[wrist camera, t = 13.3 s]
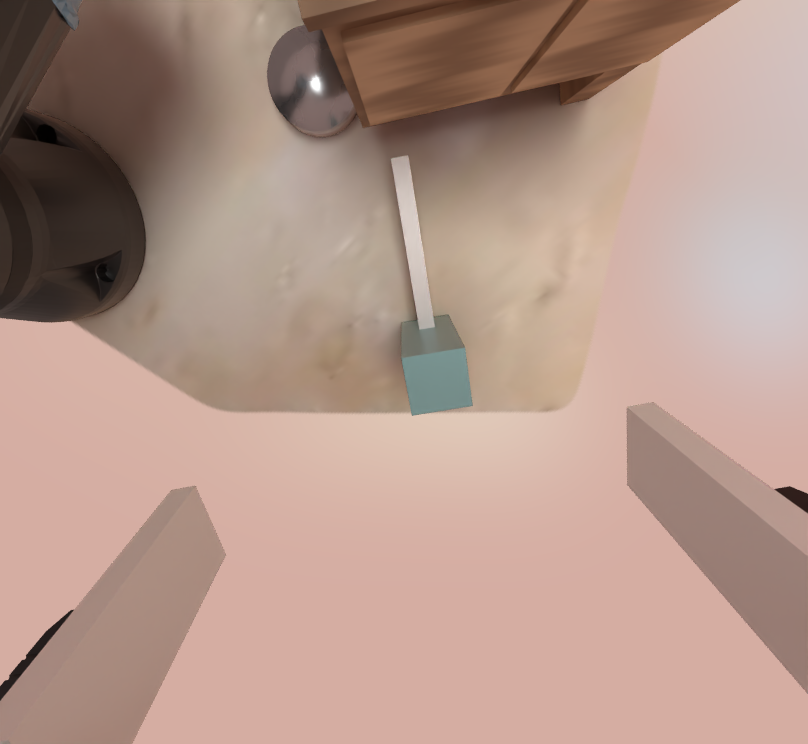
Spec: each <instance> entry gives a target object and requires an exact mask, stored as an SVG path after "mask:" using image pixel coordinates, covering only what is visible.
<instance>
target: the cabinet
mask: <svg viewBox="0 0 808 744" xmlns="http://www.w3.org/2000/svg"><path fill="white" fill-rule="evenodd" d="M739 1H740V0H298V4H299V8H300V12H301V17H302V20H303V22H304V24H305V26H306V28H307V30H308V32H312V31H316V30H320V29H322V31H323V34H324V36H325V38H326V41H327V43H328V45H329V48H330V50H331V53H332V55H333V57H334V60H335V62H336V65H337V67H338V69H339V72H340V74H341V76H342V79H343V81H344V84H345V86H346V88H347V91H348V93H349V96H350V98H351V100H352V103H353V105H354V107H355V110H356V112H357V115H358V117H359V119H360V122H361V124H362V127H363V128H365V127H370V126H374V125H378V124H383V123H387V122H391V121H396V120H400V119H404V118H409V117H413V116H417V115H422V114H426V113H430V112H435V111H439V110H443V109H448V108H452V107H456V106H461V105H465V104H469V103H474V102H478V101H482V100H487V99H491V98H495V97H500V96H504V95H508V94H513V93H517V92H521V91H526V90H530V89H534V88H539V87H543V86H547V85H552V84H556V83H559V87H560V102H561V105H564V104H569V103H573V102H577V101H582V100H586V99H589V98H591V97H592V96H594V95H595V94H597V93H598V92H600V91H601V90H603V89H604V88H606V87H607V86H609V85H610V84H612V83H613V82H615V81H616V80H618V79H619V78H621V77H622V76H624V75H625V74H627V73H628V72H629V71H631V70H632V69H634V68H635V67H637V66H638V65H640V64H641V63H645V62H648V61H649V60H651V59H652V58H654V57H656V56H657V55H659V54H660V53H662V52H663V51H664V50H666V49H668V48H669V47H671V46H672V45H673V44H675V43H677V42H678V41H680V40H681V39H683V38H684V37H686V36H687V35H689V34H690V33H692V32H693V31H695V30H696V29H697V28H699V27H701V26H702V25H704V24H705V23H707V22H708V21H710V20H711V19H713V18H714V17H716V16H717V15H718V14H720V13H722V12H723V11H725V10H726V9H728V8H729V7H731V6H732V5H734V4H735V3H737V2H739Z"/></svg>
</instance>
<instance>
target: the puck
mask: <svg viewBox="0 0 808 744" xmlns="http://www.w3.org/2000/svg"><path fill="white" fill-rule="evenodd" d="M267 79H268V86H269V90H270V94H271V97H272V99H273V101H274V103H275V105H276V107H277V108H278V110H279V111H280V113H281V114H282V115H283V116H284V117H285V118H286V119H287V120H288V121H289V122H290V123H291V124H293V125H294V126H295V127H296V128H297V129H299V130H300V131H302V132H303V133H305V134H308V135H310V136H314V137H329V136H333V135H336V134H338V133H340V132H341V131H343V130H344V129H345V128H346V127H347V126H348V125H349V124H350V123H351V122H352V120H353V119H354V117H355V115H356V113H357V112H356V110H355V107H354V105H353V103H352V100H351V98H350V96H349V93H348V91H347V88H346V86H345V84H344V81H343V79H342V76H341V74H340V72H339V69H338V67H337V65H336V62H335V60H334V57H333V55H332V53H331V50H330V48H329V45H328V43H327V41H326V38H325V36H324V34H323V31H322V29H320V30H316V31H312V32H308V30H307V28H306V26H305V25H303V26H299V27H296V28H293V29H291V30H290V31H288V32H287V33H285V34H284V35H283V36H282V37H281V38H280V39H279V40H278V42H277V43H276V45H275V46H274V48H273V50H272V52H271V55H270V58H269V63H268V70H267Z"/></svg>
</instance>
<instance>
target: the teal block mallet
mask: <svg viewBox="0 0 808 744" xmlns="http://www.w3.org/2000/svg"><path fill="white" fill-rule="evenodd" d="M391 162H392V168H393V174H394V180H395V186H396V192H397V198H398V204H399V210H400V216H401V222H402V228H403V234H404V240H405V246H406V252H407V258H408V264H409V270H410V276H411V282H412V288H413V294H414V300H415V306H416V312H417V318H418V320H414V321H408V322H402V330H401V359H402V365H403V370H404V376H405V381H406V386H407V392H408V397H409V402H410V408H411V413H412V416H413V415H419V414H425V413H431V412H438V411H444V410H450V409H456V408H462V407H469V406H473V405H472V397H471V390H470V382H469V375H468V367H467V359H466V352H465V347H464V345H463V343H462V341H461V339H460V337H459V335H458V333H457V331H456V329H455V327H454V325H453V323H452V321H451V319H450V317H449V315H443V316H437V317H433V312H432V305H431V299H430V292H429V286H428V279H427V273H426V266H425V260H424V253H423V247H422V240H421V234H420V227H419V221H418V214H417V208H416V201H415V195H414V188H413V182H412V175H411V169H410V162H409V156H408V155H406V156H401V157H396V158H391Z"/></svg>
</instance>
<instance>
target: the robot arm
mask: <svg viewBox="0 0 808 744" xmlns="http://www.w3.org/2000/svg"><path fill="white" fill-rule="evenodd" d="M81 2H82V0H0V318H6V319H16V320H27V321H37V322H64V321H71V320H76V319H80V318H83V317H87V316H90V315H94V314H97V313H100V312H102V311H104V310H107V309H109V308H110V307H112V306H114V305H115V304H116V303H118V302H119V301H120V300H121V299H122V298H123V297H124V296H125V295H126V294H127V293H128V292H129V291H130V289H131V288H132V287H133V285H134V283H135V282H136V280H137V278H138V275H139V273H140V270H141V267H142V263H143V258H144V251H145V233H144V225H143V220H142V216H141V212H140V209H139V206H138V203H137V200H136V198H135V195H134V193H133V191H132V189H131V187H130V185H129V183H128V182H127V180H126V178H125V177H124V175H123V174H122V172H121V171H120V169H119V168H118V167H117V165H116V164H115V163H114V161H113V160H112V159H111V158H110V157H109V156H108V155H107V153H106V152H105V151H104V150H103V149H102V148H101V147H99V146H98V145H97V144H96V143H95V142H94V141H93V140H91V139H90V138H89V137H88V136H86V135H85V134H84V133H82V132H81V131H79V130H77V129H76V128H74V127H72V126H71V125H69V124H67V123H65V122H63V121H61V120H59V119H56V118H53V117H51V116H48V115H45V114H41V113H38V112H35V111H31V110H28V109H26V107H27V105H28V104H29V102H30V100H31V98H32V96H33V95H34V93H35V91H36V89H37V87H38V86H39V84H40V82H41V80H42V78H43V77H44V75H45V73H46V71H47V69H48V68H49V66H50V64H51V62H52V60H53V59H54V57H55V55H56V53H57V51H58V50H59V48H60V46H61V44H62V42H63V41H64V39H65V37H66V35H67V33H68V32H69V30H70V28H71V29H73V30H74V31H75V29H76V28H77V26H78V24H79V18H78V14H77V12H78V9H79V7H80V4H81ZM627 485H628V486H629V487H630V489H631V490H632V491H633V492H634V493H635V494H636V496H638V498H639V499H640V500H641V501H642V502H643V504H644V505H645V506H646V507H647V508H648V509H649V511H650V512H651V513H652V514H653V515H654V516H655V517H656V519H657V520H658V521H659V522H660V523H661V524H662V526H663V527H664V528H665V529H666V530H667V531H668V532H669V534H670V535H671V536H672V537H673V538H674V539H675V541H676V542H677V543H678V544H679V545H680V546H681V548H682V549H683V550H684V551H685V552H686V553H687V555H688V556H689V557H690V558H691V559H692V560H693V562H694V563H695V564H696V565H697V566H698V567H699V568H700V570H701V571H702V572H703V573H704V574H705V575H706V577H708V579H709V580H710V581H711V582H712V584H714V586H715V587H716V588H717V589H718V590H719V592H720V593H721V594H722V595H723V596H724V597H725V599H726V600H727V601H728V602H729V603H730V604H731V606H732V607H733V608H734V609H735V610H736V611H737V612H738V614H739V615H740V616H741V617H742V618H743V619H744V621H745V622H746V623H747V624H748V625H749V626H750V627H751V629H752V630H753V631H754V632H755V633H756V634H757V636H758V637H759V638H760V639H761V640H762V641H763V642H764V644H765V645H766V646H767V647H768V648H769V650H770V651H771V652H772V653H773V654H774V655H775V657H776V658H777V659H778V660H779V661H780V662H781V663H782V665H783V666H784V667H785V668H786V669H787V670H788V671H789V673H790V674H791V675H792V676H793V677H794V679H795V680H796V681H797V682H798V683H799V684H800V685H801V687H802V688H803V689H804V690H805V691H806V692H807V693H808V494H807V493H804V492H802V491H800V490H797V489H795V488H792V487H790V486H789V487H784V488H778V489H773V488H771V487H770V486H769V485H767V484H766V483H764V482H763V481H762V480H760V479H759V478H757V477H756V476H755V475H753V474H752V473H751V472H749V471H748V470H747V469H745V468H744V467H742V466H741V465H740V464H738V463H737V462H735V461H734V460H733V459H731V458H730V457H729V456H727V455H726V454H724V453H723V452H722V451H720V450H719V449H717V448H716V447H715V446H713V445H712V444H711V443H709V442H708V441H706V440H705V439H704V438H702V437H701V436H699V435H698V434H697V433H695V432H694V431H693V430H691V429H690V428H688V427H687V426H686V425H684V424H683V423H681V422H680V421H679V420H677V419H676V418H675V417H673V416H672V415H670V414H669V413H668V412H666V411H665V410H663V409H662V408H661V407H659V406H658V405H657V404H655V403H654V402H651V403H646V404H641V405H635V406H630V407H627ZM225 556H226V554H225V552H224V549H223V547H222V545H221V543H220V540H219V538H218V536H217V533H216V531H215V529H214V527H213V524H212V522H211V520H210V518H209V515H208V513H207V511H206V509H205V506H204V504H203V502H202V500H201V498H200V495H199V493H198V491H197V488H196V486H192V487H186V488H180V489H175V490H171V491H170V493H169V494H168V495H167V496H166V498H165V499H164V500H163V501H162V503H161V504H160V505H159V506H158V508H157V509H156V510H155V511H154V512H153V514H152V515H151V516H150V517H149V519H148V520H147V521H146V522H145V523H144V525H143V526H142V527H141V528H140V530H139V531H138V532H137V533H136V535H135V536H134V537H133V538H132V539H131V541H130V542H129V543H128V544H127V546H126V547H125V548H124V549H123V551H122V552H121V553H120V554H119V555H118V557H117V558H116V559H115V561H114V562H113V563H112V564H111V565H110V567H109V568H108V569H107V570H106V571H105V573H104V574H103V575H102V576H101V578H100V579H99V580H98V581H97V583H96V584H95V585H94V586H93V587H92V589H91V590H90V591H89V592H88V594H87V595H86V596H85V597H84V599H83V600H82V601H81V602H80V603H79V605H78V606H77V607H76V608H75V610H71V611H70V612H68V613H67V614H66V615H65V616H64V617H62V618H61V619H60V620H59V621H58V622H57V623H55V624H54V625H53V626H52V627H51V628H50V629H48V630H47V631H46V632H45V633H44V635H43V636H42V637H41V638H40V639H39V641H38V642H37V643H36V644H35V645H34V647H33V648H32V649H31V650H30V651H29V652H28V654H27V655H26V659H25V660H22V661H21V662H20V663H19V664H18V666H17V667H16V668H15V669H14V670H13V672H12V673H11V674H10V675H9V676H10V677H9V680H6V681H4V682H3V684H2V685H1V686H0V744H132V743H133V741H134V739H135V737H136V735H137V733H138V731H139V729H140V727H141V725H142V723H143V721H144V719H145V717H146V714H147V713H148V711H149V709H150V707H151V705H152V703H153V701H154V699H155V697H156V695H157V693H158V691H159V689H160V687H161V685H162V682H163V680H164V679H165V676H166V674H167V672H168V671H169V669H170V666H171V664H172V662H173V660H174V658H175V656H176V654H177V652H178V650H179V648H180V646H181V644H182V642H183V640H184V638H185V636H186V634H187V632H188V630H189V628H190V626H191V624H192V622H193V620H194V618H195V616H196V614H197V612H198V610H199V608H200V606H201V604H202V602H203V600H204V598H205V596H206V594H207V592H208V590H209V588H210V586H211V584H212V581H213V580H214V578H215V576H216V574H217V572H218V570H219V568H220V566H221V564H222V562H223V560H224V558H225Z"/></svg>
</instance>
